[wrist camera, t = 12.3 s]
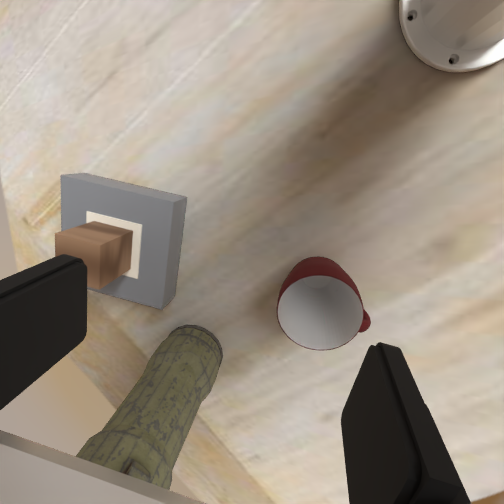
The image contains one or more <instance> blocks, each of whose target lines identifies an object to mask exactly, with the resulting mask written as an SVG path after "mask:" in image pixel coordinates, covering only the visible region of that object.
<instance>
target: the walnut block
mask: <svg viewBox="0 0 504 504" xmlns="http://www.w3.org/2000/svg"><path fill="white" fill-rule="evenodd" d="M132 240H133V231H132V230H128V229H124V228H120V227H116V226H112V225H108V224H104V223H100V222H97V221H92V222H89V223H86V224H83V225H80V226H77V227H74V228H70V229H67V230H64V231H61V232H58V233H55V257H57V256H59V255H62V254H67V255H70V256H74V257H77V258H81V259H82V260H83V261H84V264H85V265H86V266H87V287H91V288H95V289H98V290H100V289H101V288H103V287H104V286H106V285H107V284H109V283H110V282H112V281H113V280H115V279H116V278H118V277H119V276H121V275H122V274H124V273H125V272H127V271H129V270H130V269H131V255H132Z"/></svg>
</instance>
